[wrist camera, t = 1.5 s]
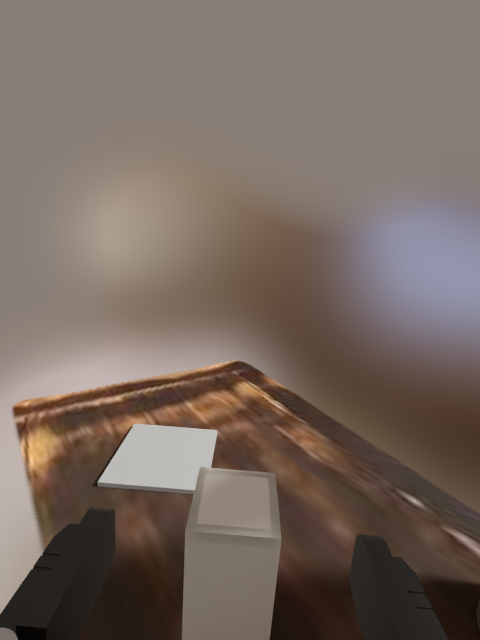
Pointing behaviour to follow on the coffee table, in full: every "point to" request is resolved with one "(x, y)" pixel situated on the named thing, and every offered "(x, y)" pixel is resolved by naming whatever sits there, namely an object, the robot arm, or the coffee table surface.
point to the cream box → (231, 556)
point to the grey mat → (160, 459)
